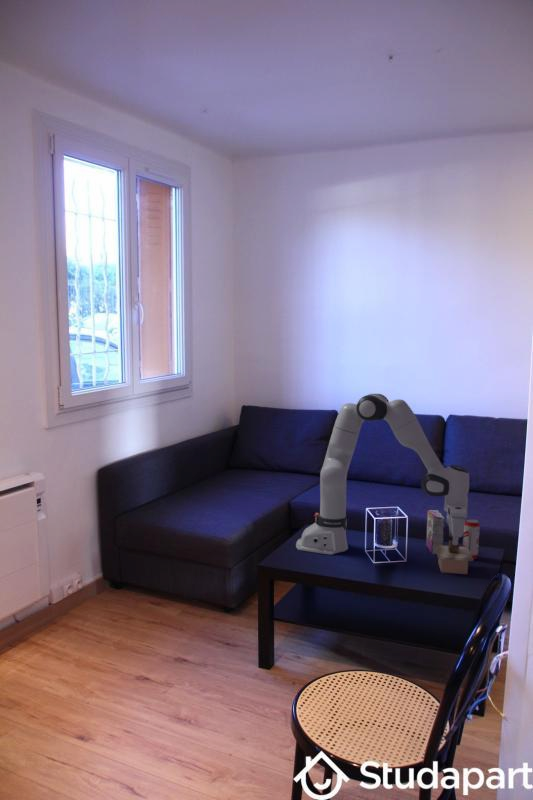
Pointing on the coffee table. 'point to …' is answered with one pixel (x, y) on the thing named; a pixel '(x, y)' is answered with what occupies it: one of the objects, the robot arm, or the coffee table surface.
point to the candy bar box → (434, 530)
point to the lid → (453, 552)
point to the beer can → (471, 536)
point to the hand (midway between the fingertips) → (453, 540)
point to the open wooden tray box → (453, 566)
